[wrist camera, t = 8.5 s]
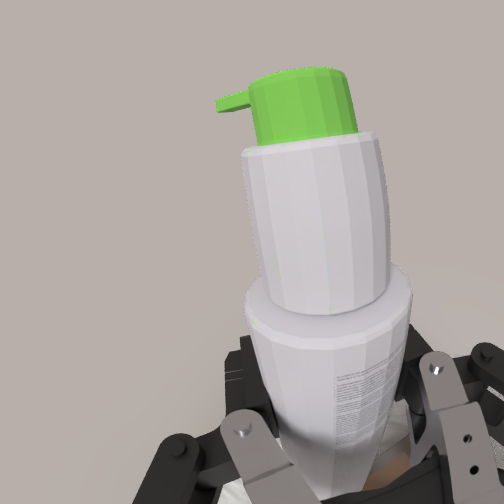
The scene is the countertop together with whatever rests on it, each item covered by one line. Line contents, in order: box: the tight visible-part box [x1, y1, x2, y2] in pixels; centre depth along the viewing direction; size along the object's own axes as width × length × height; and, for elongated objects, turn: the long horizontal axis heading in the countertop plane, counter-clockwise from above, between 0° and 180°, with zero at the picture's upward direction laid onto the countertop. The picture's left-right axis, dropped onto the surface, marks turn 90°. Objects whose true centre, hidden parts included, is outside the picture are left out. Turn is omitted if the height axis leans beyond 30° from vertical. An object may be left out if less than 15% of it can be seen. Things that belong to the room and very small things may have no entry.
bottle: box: [216, 67, 413, 501], centre depth 9 cm, size 4×4×20 cm
